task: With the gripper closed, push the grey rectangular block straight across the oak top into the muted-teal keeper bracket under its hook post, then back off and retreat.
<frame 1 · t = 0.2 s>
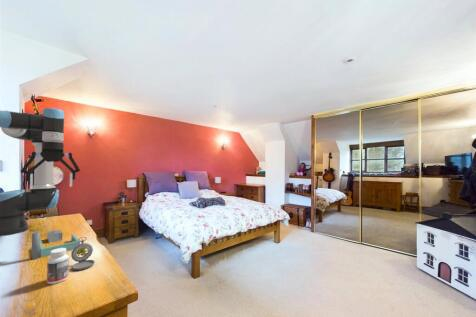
hand: (52, 187, 96), 27 cm above the chest of drawers, fingers open, 13 cm apart
pill bottle: (57, 280, 68), on the chest of drawers
pocket watch: (83, 265, 78), on the chest of drawers
grey rectangular block: (54, 240, 105), on the chest of drawers
keeper: (58, 247, 96), on the chest of drawers
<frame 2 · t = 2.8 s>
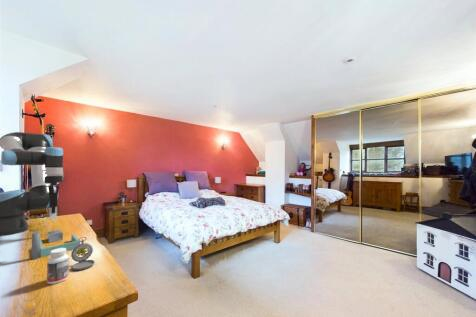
hand: (53, 219, 112), 9 cm above the chest of drawers, fingers closed
nothing on the chest of drawers moved.
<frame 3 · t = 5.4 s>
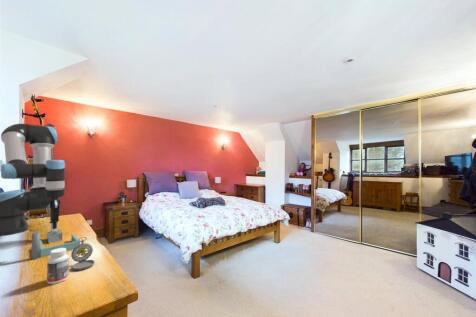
hand: (54, 234, 108), 2 cm above the chest of drawers, fingers closed
grey rectangular block: (54, 240, 105), on the chest of drawers, touching gripper
everything else where it was.
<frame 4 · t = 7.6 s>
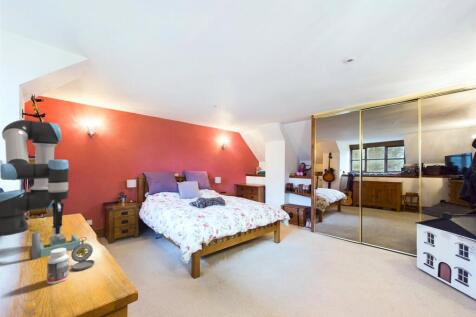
hand: (57, 240, 100), 2 cm above the chest of drawers, fingers closed
grey rectangular block: (57, 246, 97), on the chest of drawers, touching gripper
everything else where it was.
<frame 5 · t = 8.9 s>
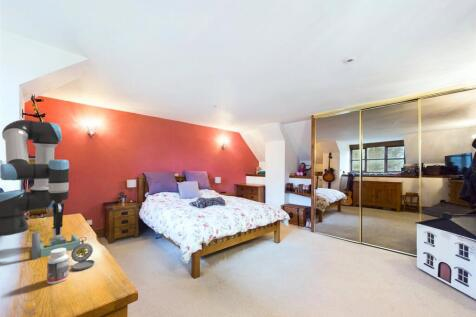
hand: (57, 241, 99), 2 cm above the chest of drawers, fingers closed
grey rectangular block: (57, 247, 96), on the chest of drawers
everything else where it was.
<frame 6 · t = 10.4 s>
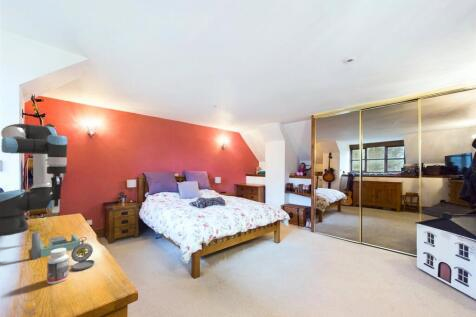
hand: (55, 212, 105), 14 cm above the chest of drawers, fingers closed
nothing on the chest of drawers moved.
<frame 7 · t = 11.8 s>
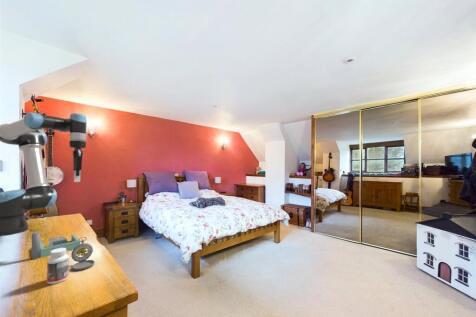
hand: (77, 181, 119), 28 cm above the chest of drawers, fingers closed
nothing on the chest of drawers moved.
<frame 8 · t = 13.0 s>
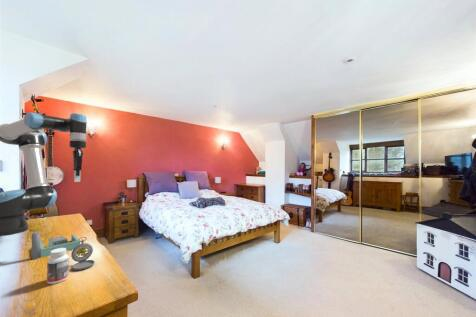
hand: (77, 181, 119), 28 cm above the chest of drawers, fingers closed
nothing on the chest of drawers moved.
at the end: grey rectangular block inside the target area on the keeper (0.4 cm from its centre), point 0.0 cm above the keeper's base; grey rectangular block moved 13.7 cm from its start; the gripper is holding nothing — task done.
